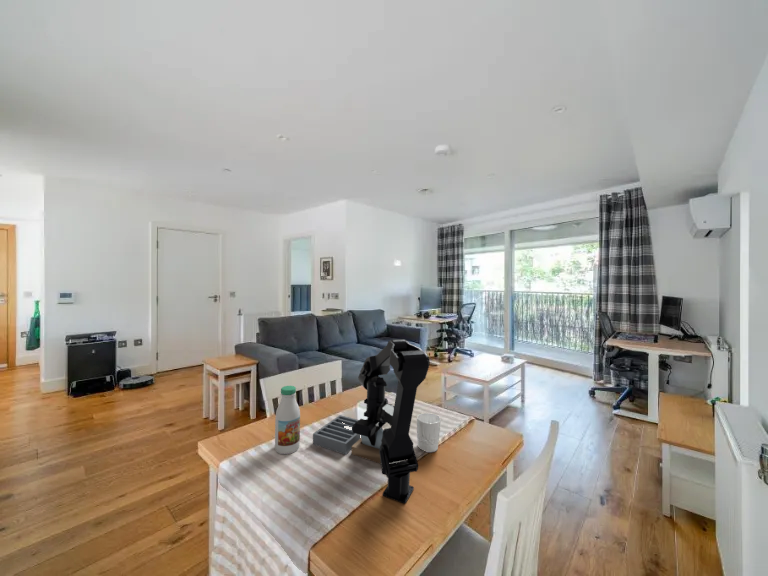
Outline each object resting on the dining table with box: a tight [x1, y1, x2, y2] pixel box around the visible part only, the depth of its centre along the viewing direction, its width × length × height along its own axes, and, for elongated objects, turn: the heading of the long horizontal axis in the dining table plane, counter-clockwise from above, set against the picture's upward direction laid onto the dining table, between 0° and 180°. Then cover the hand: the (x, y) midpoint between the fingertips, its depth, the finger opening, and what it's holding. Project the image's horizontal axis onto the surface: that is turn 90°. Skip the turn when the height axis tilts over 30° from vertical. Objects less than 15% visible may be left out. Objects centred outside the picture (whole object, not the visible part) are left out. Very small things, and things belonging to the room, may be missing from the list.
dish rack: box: [312, 414, 360, 455], centre depth 110 cm, size 16×13×4 cm
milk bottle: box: [274, 385, 301, 455], centre depth 102 cm, size 8×8×20 cm
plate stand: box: [350, 438, 381, 465], centre depth 101 cm, size 8×12×2 cm, turn 64°
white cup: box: [416, 412, 442, 453], centre depth 106 cm, size 8×8×10 cm
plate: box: [361, 427, 384, 449], centre depth 101 cm, size 1×9×9 cm, turn 64°
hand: (374, 444), depth 101 cm, fingers closed on plate, 1 cm apart
